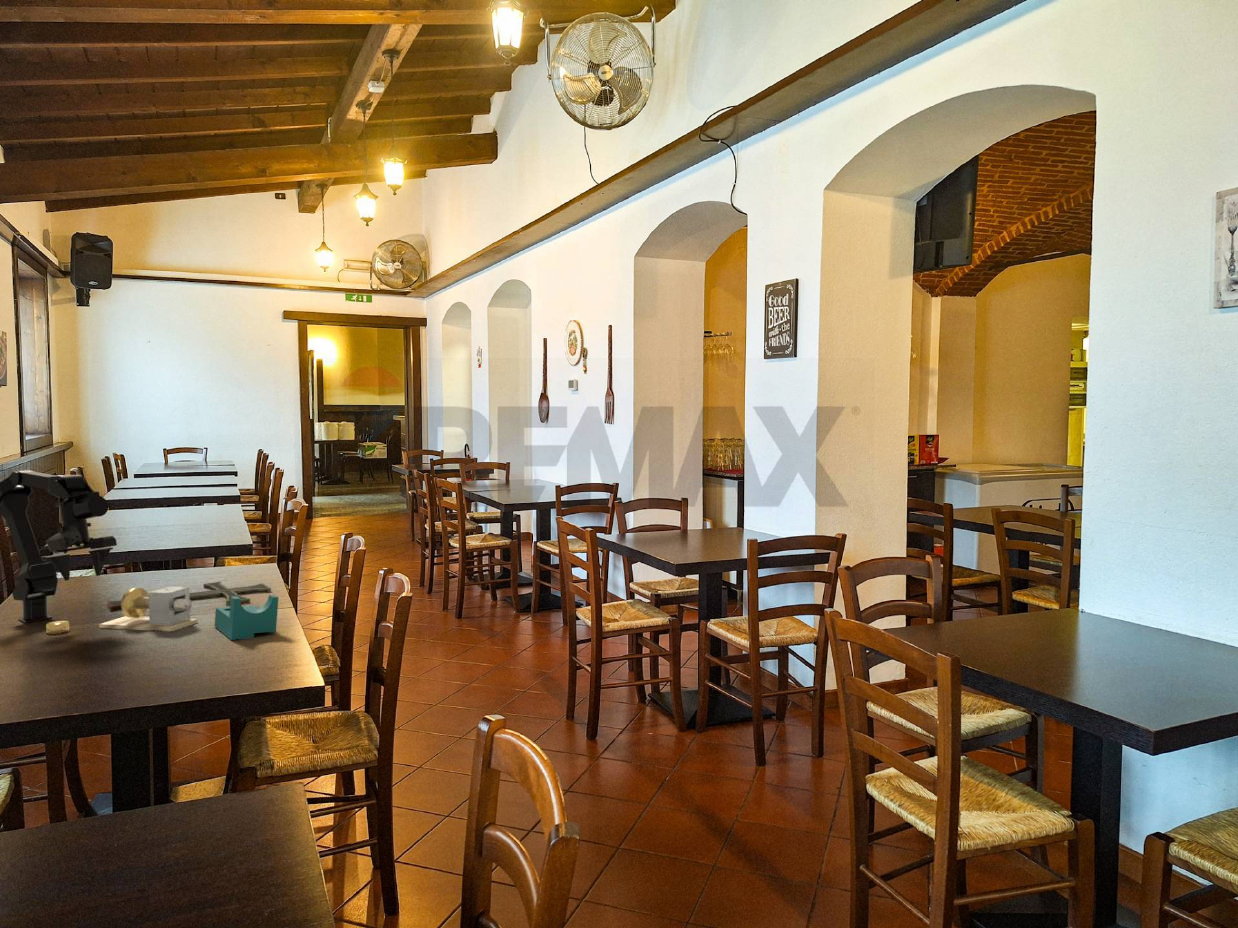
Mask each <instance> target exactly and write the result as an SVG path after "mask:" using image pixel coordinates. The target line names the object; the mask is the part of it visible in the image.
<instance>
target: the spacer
mask: <svg viewBox="0 0 1238 928" xmlns="http://www.w3.org/2000/svg"><path fill="white" fill-rule="evenodd" d="M45 628H46V631H45V632H46V634H47V633H48V635H55V634H56V635H58V634H62V633H61V632H64V633H67V632H69V631H70V621H68V620H58V621H51V622H47V623H46V626H45ZM57 633H58V634H57Z"/></svg>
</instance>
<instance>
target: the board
mask: <svg viewBox="0 0 1238 928" xmlns="http://www.w3.org/2000/svg"><path fill="white" fill-rule="evenodd" d="M197 623H198V618H190V620H187V621H185V622H182V623H179V624H176V625H173V626H170V627H166V626H150V621H149V616H145V615H143V616H141V617H139V618H130V617H126V616H125V615H124V616H122V617H119V618H114V619H111V620H108V621H105V622H102V623H99V624H98V626H99V627H98V628H100V629H115V630H116V629H117V630H135V631H136V630H137V631H151V630H156V631H157V630H159V631H157V632H171V631H172V632H175V631H178V630H180V629H182V628H183V627H184V628H186V627H190V626H191V625H195V624H197ZM184 628H183V629H184ZM160 630H161V631H160ZM174 630H175V631H174Z"/></svg>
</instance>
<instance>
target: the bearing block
mask: <svg viewBox="0 0 1238 928" xmlns="http://www.w3.org/2000/svg"><path fill="white" fill-rule="evenodd" d="M189 593H190V587H189V586H166V587H164V588H163V587H162V588H159V589H156V590H152V591H149V592H148V595H149V609H148V617H149V621H150V626H166V627H170V626H173V625H176V624H179V623H182V622H185V621H187V620H190V619H191V611H190V610H191V609H190V610H189V611H174V605H173V598H174V599H189Z"/></svg>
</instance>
